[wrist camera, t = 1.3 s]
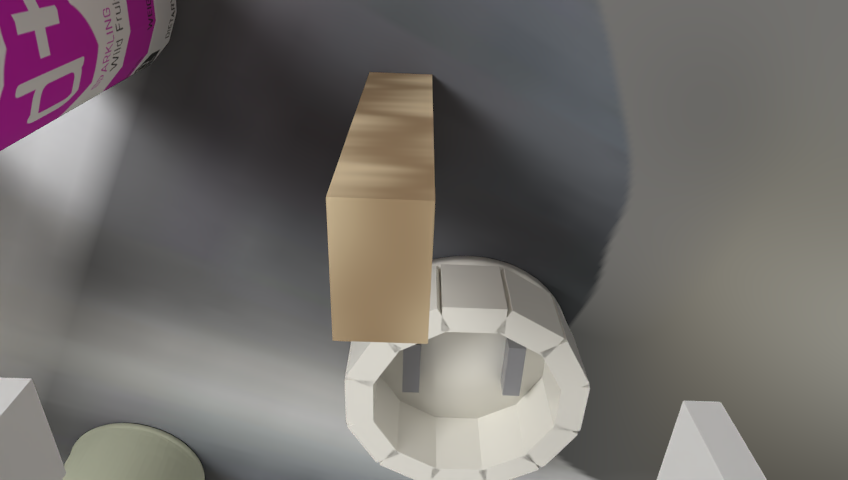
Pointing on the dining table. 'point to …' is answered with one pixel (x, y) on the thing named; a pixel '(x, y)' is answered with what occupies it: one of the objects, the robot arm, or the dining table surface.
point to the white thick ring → (471, 380)
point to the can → (131, 455)
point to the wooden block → (384, 214)
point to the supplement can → (71, 54)
